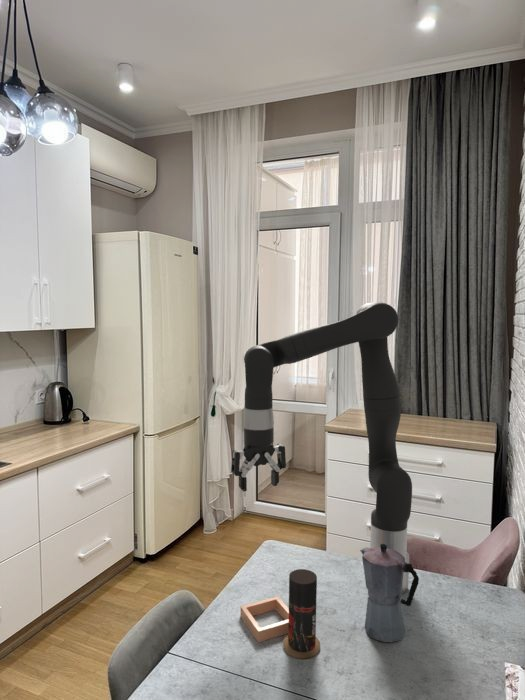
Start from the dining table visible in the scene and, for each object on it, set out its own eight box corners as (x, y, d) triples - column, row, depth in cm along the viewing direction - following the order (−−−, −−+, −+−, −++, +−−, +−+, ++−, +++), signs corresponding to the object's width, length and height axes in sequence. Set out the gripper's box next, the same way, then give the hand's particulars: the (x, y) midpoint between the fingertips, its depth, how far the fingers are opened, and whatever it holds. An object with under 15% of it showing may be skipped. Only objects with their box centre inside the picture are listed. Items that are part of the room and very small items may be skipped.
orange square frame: (277, 605, 119) (277, 596, 118) (298, 629, 110) (298, 619, 109) (240, 616, 114) (240, 606, 114) (258, 642, 105) (258, 631, 105)
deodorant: (314, 654, 101) (315, 585, 100) (286, 649, 102) (287, 582, 101) (316, 636, 107) (318, 570, 106) (290, 631, 108) (291, 567, 107)
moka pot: (369, 607, 118) (371, 529, 117) (428, 638, 107) (431, 551, 106) (346, 625, 112) (348, 541, 110) (406, 659, 101) (409, 567, 99)
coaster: (307, 630, 110) (307, 627, 110) (327, 652, 102) (327, 649, 102) (276, 640, 106) (276, 637, 106) (294, 663, 99) (294, 661, 99)
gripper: (277, 419, 128) (277, 479, 129) (227, 425, 122) (227, 487, 123) (290, 425, 121) (290, 488, 122) (238, 431, 115) (238, 497, 116)
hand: (259, 487), depth 123 cm, fingers open, 8 cm apart
